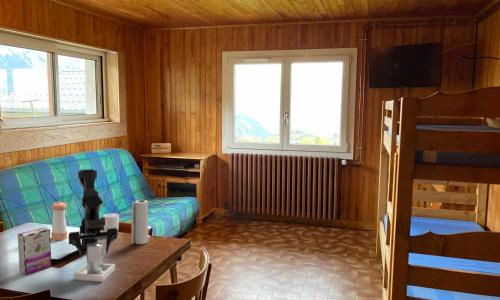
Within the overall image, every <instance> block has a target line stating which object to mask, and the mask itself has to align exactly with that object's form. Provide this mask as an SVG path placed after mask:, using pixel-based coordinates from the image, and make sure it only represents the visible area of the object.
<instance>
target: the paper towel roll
mask: <svg viewBox="0 0 500 300" xmlns="http://www.w3.org/2000/svg"><path fill="white" fill-rule="evenodd" d="M148 204H149V203H148V200H146V199H138V200H135V201H133V202H131V222H130V223H131V224H130V225H131V239H130V240H131V242H130V243H131V245H133V244H136V245H145V244H147V243H148V240H149V239H148V234H149V233H148V230H149V229H148V226H149V225H148V224H149V223H148V219H149V217H148V216H149V215H148V214H149V213H148V212H149V205H148Z"/></svg>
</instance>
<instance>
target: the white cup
mask: <svg viewBox="0 0 500 300" xmlns="http://www.w3.org/2000/svg"><path fill="white" fill-rule="evenodd" d="M104 217H105V226H103V230H104V231H103V232H107V229H108V228H117V230H118V231H119V225H120V224H119V223H120V222H119V221H120V214H118V213H114V212H111V213H105V214H103V217H102V218H104Z"/></svg>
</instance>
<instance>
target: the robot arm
mask: <svg viewBox="0 0 500 300" xmlns="http://www.w3.org/2000/svg"><path fill="white" fill-rule="evenodd" d="M97 178H98V171H97V170H95V169H94V168H91V169H90V168H88V169H87V168H86V169H85V168H84V169H80V170H78V171H77V179H78V180H79V185H80V186H81V187H82V190H83V193H82V197H81V199H80V200H81V203H80V204H81V207H83V211H84V214H83V215H84V216H83V218H82V220H81V223H80V225H79V230H78V231H71V232H69V233H68V245H72V246H75V248H76V249H77V251H78V252H79V254H80V256H81V257H82V258H83V257H84V252H87V244H89V243H94V242H99V239H98V238H105V237H106V242H105V244H106V246H105V255H108V253H109V248H110V245H111V244H112V242H114V241H115V240H117V239H118V234H119V229H118V230H117V228H108V229H107V232H105V231H102V227H104V226H105V217H104V218H103V217H100V209H101V206H102V205H103V199H102V198H101V196H99V192H98V191H97V190H96V188H95V184H96V179H97ZM101 231H102V232H101ZM82 248H83V249H82Z"/></svg>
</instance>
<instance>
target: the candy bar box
mask: <svg viewBox="0 0 500 300" xmlns="http://www.w3.org/2000/svg"><path fill="white" fill-rule="evenodd" d="M51 241H52V239H51V228H48V227H45V226H44V227H39V228H35V229H32V230H28V231H24V232H21V233H17V247H18V248H17V249H18V267H19V270H18V271H19V273H20V274H21V275H24V276H27V275H31V274H33V273H36V272H37V273H38V272H40V271H43V270H45V269H48V268H50V267H52V248H51V247H52V246H51V243H52V242H51Z"/></svg>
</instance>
